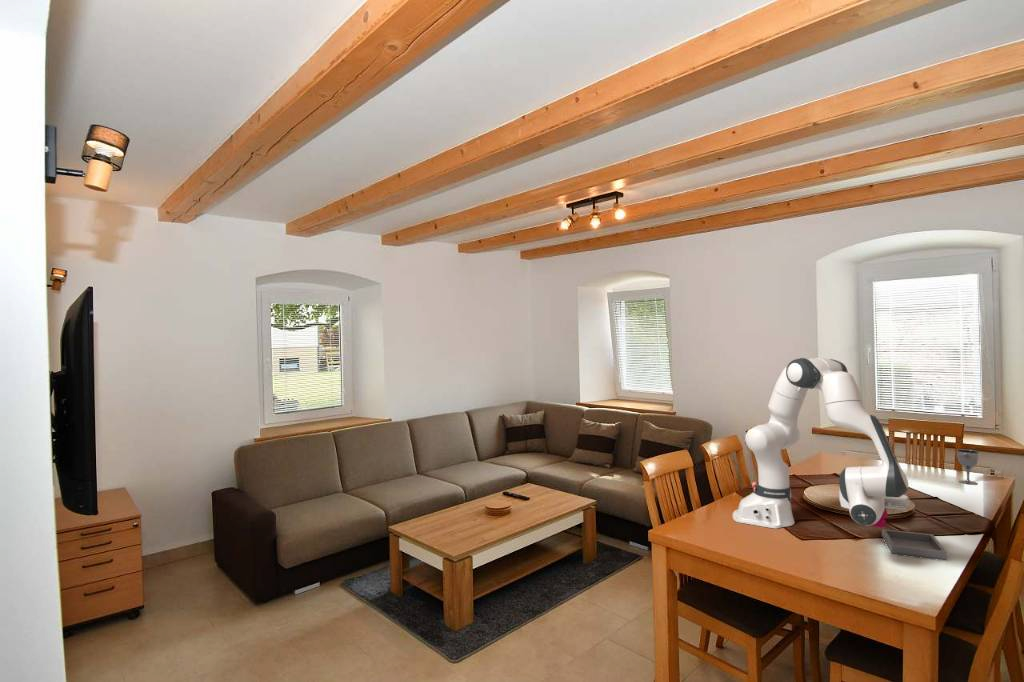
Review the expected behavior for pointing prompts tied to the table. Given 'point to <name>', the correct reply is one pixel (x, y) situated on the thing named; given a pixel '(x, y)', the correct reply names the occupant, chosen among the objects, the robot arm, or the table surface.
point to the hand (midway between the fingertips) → (874, 492)
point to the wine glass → (968, 462)
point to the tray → (914, 544)
